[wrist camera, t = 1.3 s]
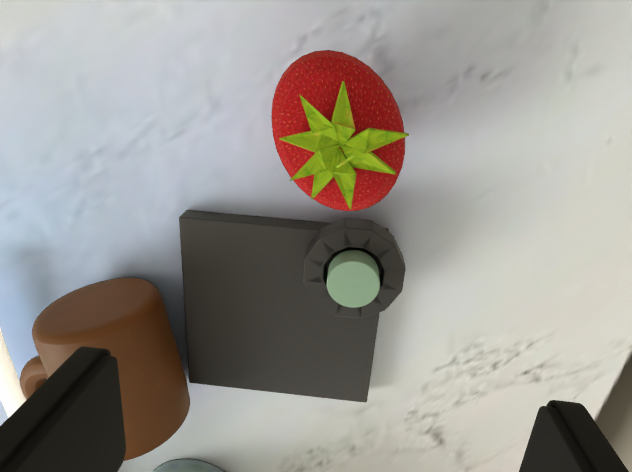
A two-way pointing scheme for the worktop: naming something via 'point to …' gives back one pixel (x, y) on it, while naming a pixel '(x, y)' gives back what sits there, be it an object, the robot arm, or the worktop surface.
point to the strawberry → (338, 130)
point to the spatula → (9, 382)
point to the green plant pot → (187, 466)
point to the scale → (280, 303)
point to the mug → (118, 354)
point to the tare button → (353, 278)
